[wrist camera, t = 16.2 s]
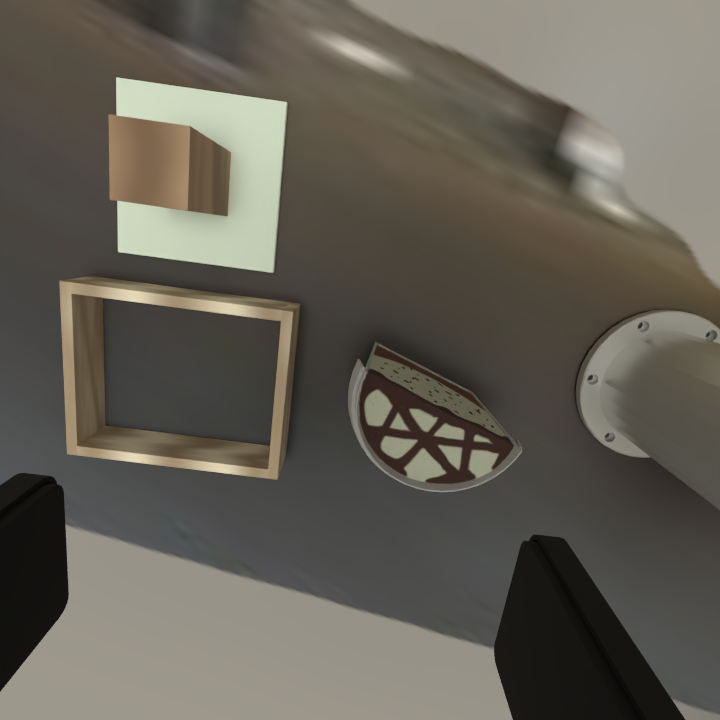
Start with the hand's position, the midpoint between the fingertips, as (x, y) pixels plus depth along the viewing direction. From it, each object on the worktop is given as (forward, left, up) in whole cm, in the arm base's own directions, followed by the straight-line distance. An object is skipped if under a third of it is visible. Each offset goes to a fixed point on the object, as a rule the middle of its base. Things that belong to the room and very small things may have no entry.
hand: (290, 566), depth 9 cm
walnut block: (+12, -9, -28) cm, 32 cm away
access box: (+12, +6, -28) cm, 31 cm away
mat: (+12, -9, -28) cm, 32 cm away
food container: (-6, +6, -28) cm, 30 cm away
